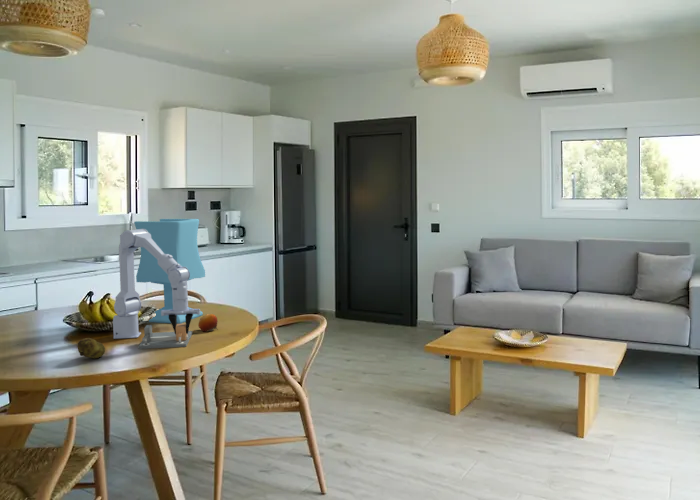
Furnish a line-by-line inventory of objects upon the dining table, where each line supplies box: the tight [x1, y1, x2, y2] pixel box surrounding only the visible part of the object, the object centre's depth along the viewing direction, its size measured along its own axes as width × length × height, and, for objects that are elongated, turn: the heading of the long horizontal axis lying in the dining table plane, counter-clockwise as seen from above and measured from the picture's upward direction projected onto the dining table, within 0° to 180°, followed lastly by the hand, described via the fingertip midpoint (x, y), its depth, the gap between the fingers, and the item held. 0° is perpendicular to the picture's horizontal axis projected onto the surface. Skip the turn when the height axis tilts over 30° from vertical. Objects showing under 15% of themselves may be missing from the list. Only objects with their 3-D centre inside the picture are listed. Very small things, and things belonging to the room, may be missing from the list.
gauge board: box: [137, 330, 193, 350], centre depth 258 cm, size 18×22×2 cm
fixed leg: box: [143, 324, 153, 344], centre depth 252 cm, size 2×9×6 cm, turn 7°
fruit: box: [198, 313, 219, 332], centre depth 275 cm, size 8×8×8 cm
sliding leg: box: [176, 323, 187, 342], centre depth 253 cm, size 4×9×6 cm, turn 7°
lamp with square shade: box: [133, 218, 206, 324], centre depth 299 cm, size 22×22×45 cm
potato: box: [76, 337, 106, 359], centre depth 233 cm, size 8×13×8 cm, turn 157°
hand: (181, 333), depth 256 cm, fingers closed on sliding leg, 4 cm apart
